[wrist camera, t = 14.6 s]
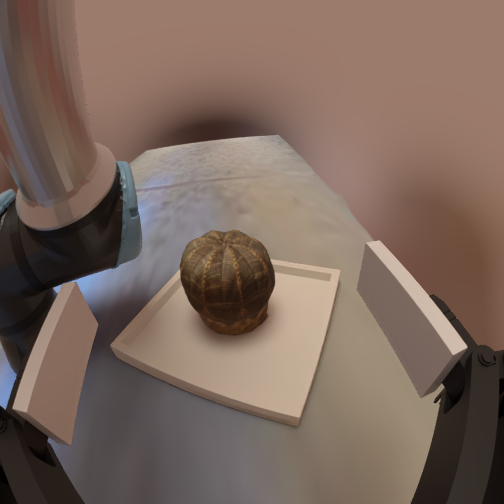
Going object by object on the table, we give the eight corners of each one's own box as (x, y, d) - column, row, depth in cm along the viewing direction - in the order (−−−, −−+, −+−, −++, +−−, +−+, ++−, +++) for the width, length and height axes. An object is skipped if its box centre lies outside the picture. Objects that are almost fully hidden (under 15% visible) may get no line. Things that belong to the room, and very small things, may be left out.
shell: (179, 339, 33) (152, 260, 27) (211, 286, 42) (198, 213, 36) (263, 357, 30) (257, 273, 24) (282, 295, 39) (281, 218, 33)
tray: (117, 357, 32) (109, 345, 31) (202, 259, 50) (200, 248, 49) (297, 426, 23) (299, 417, 22) (338, 283, 42) (340, 270, 41)
